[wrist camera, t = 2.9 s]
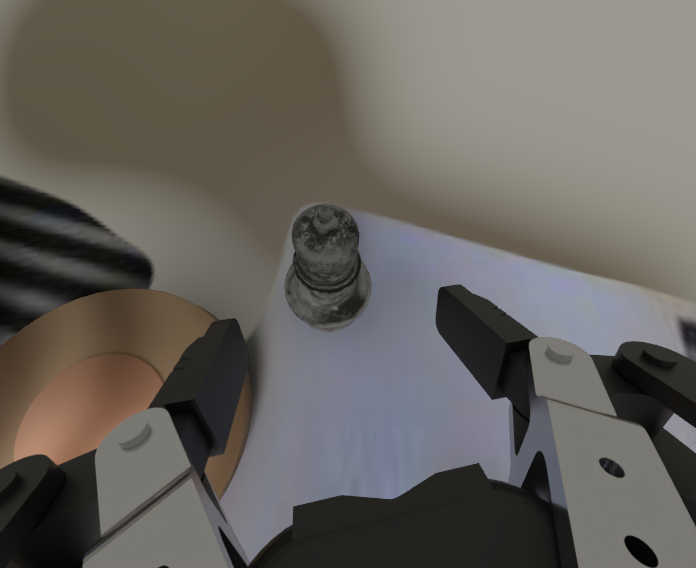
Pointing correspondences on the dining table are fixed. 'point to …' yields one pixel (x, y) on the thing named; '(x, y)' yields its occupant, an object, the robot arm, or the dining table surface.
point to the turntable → (101, 375)
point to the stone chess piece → (327, 269)
